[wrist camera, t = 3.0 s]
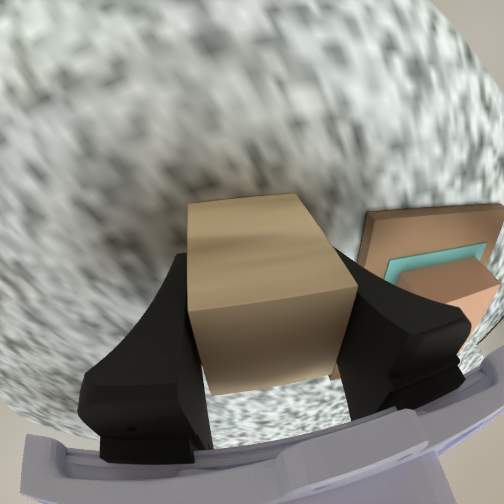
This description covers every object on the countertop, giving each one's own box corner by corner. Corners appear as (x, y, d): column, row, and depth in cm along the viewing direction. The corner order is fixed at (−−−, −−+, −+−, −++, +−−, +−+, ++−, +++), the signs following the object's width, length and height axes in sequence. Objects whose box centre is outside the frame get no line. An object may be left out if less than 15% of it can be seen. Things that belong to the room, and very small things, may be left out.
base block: (441, 325, 20) (459, 352, 18) (371, 348, 19) (387, 381, 17) (474, 256, 16) (500, 283, 14) (399, 272, 15) (427, 309, 13)
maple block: (290, 275, 15) (331, 374, 10) (201, 286, 15) (211, 395, 10) (295, 192, 13) (358, 285, 8) (187, 203, 12) (188, 311, 7)
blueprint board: (440, 337, 23) (444, 344, 23) (327, 372, 22) (330, 381, 21) (500, 203, 15) (508, 210, 15) (366, 212, 14) (376, 221, 13)
